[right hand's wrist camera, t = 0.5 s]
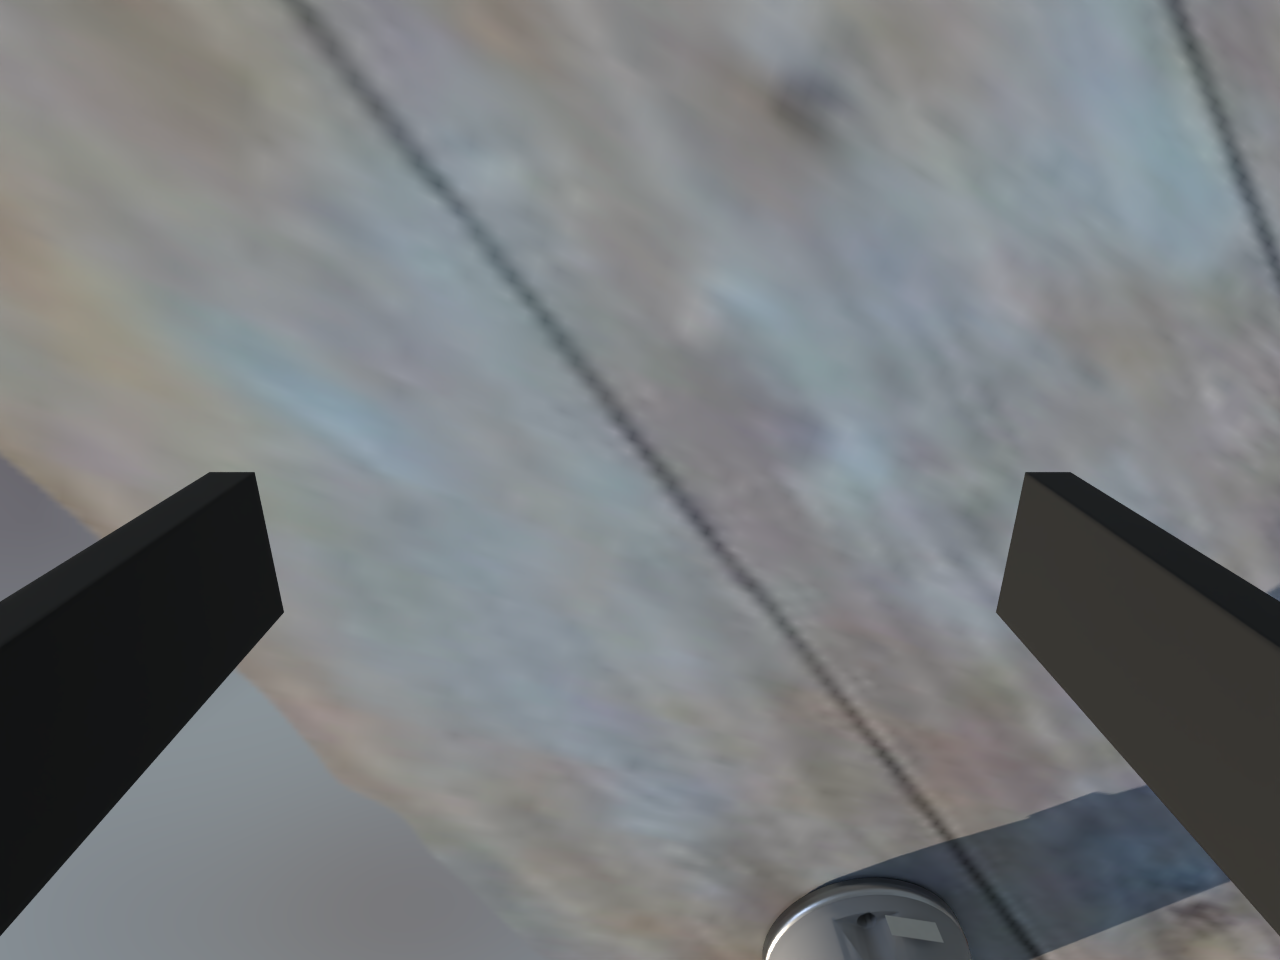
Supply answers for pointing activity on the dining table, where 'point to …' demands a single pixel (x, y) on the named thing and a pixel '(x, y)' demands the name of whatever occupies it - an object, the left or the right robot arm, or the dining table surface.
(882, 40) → the dining table surface
